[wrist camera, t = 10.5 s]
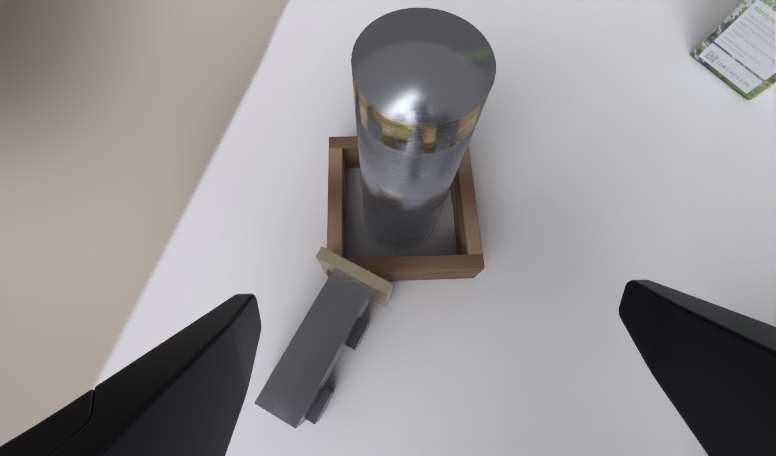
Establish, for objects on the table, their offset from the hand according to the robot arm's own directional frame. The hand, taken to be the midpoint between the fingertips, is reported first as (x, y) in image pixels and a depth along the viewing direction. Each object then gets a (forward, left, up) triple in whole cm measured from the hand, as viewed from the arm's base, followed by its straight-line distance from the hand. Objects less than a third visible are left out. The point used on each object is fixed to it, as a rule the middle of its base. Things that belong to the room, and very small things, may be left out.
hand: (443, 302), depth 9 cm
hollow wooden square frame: (+5, +6, -13) cm, 15 cm away
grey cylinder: (+5, +6, -13) cm, 15 cm away
